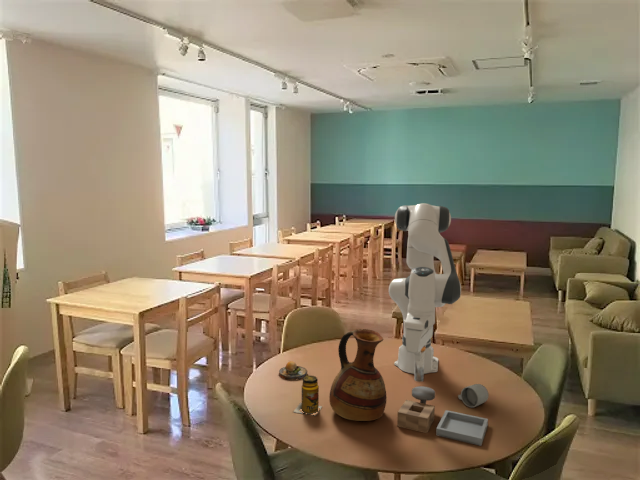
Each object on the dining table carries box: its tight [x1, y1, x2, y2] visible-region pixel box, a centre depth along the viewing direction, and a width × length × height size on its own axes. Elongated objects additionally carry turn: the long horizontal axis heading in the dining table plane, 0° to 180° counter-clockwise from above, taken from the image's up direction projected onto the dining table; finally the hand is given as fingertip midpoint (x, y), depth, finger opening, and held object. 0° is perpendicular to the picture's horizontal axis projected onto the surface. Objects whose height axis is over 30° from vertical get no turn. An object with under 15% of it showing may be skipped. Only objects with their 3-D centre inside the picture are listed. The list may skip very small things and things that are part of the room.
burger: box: [278, 360, 308, 381], centre depth 208 cm, size 12×12×8 cm
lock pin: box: [413, 346, 426, 383], centre depth 165 cm, size 4×4×12 cm
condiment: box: [293, 375, 323, 417], centre depth 176 cm, size 7×8×12 cm
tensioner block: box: [396, 385, 436, 434], centre depth 171 cm, size 18×10×8 cm, turn 154°
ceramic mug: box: [457, 383, 490, 409], centre depth 183 cm, size 10×8×7 cm
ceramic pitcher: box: [328, 328, 388, 422], centre depth 172 cm, size 20×20×30 cm
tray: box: [435, 409, 489, 447], centre depth 163 cm, size 14×14×2 cm
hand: (419, 357), depth 165 cm, fingers closed on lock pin, 3 cm apart
